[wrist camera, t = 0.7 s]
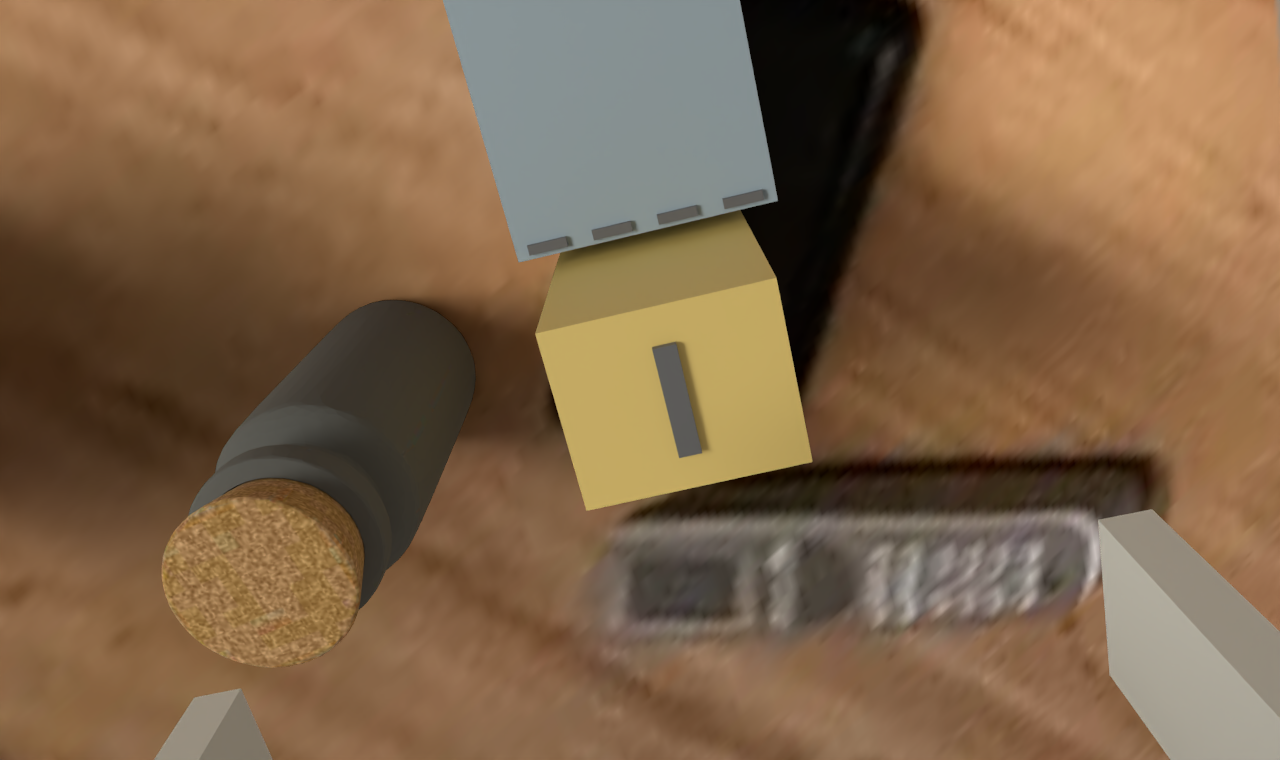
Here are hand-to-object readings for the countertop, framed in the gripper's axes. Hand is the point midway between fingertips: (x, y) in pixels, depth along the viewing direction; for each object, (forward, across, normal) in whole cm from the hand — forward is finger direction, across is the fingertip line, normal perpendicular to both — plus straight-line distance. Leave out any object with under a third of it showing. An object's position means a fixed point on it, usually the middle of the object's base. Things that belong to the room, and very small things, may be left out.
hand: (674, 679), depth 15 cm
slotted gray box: (+23, 0, +11) cm, 25 cm away
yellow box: (+23, 0, 0) cm, 23 cm away
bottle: (+23, -10, -1) cm, 25 cm away
